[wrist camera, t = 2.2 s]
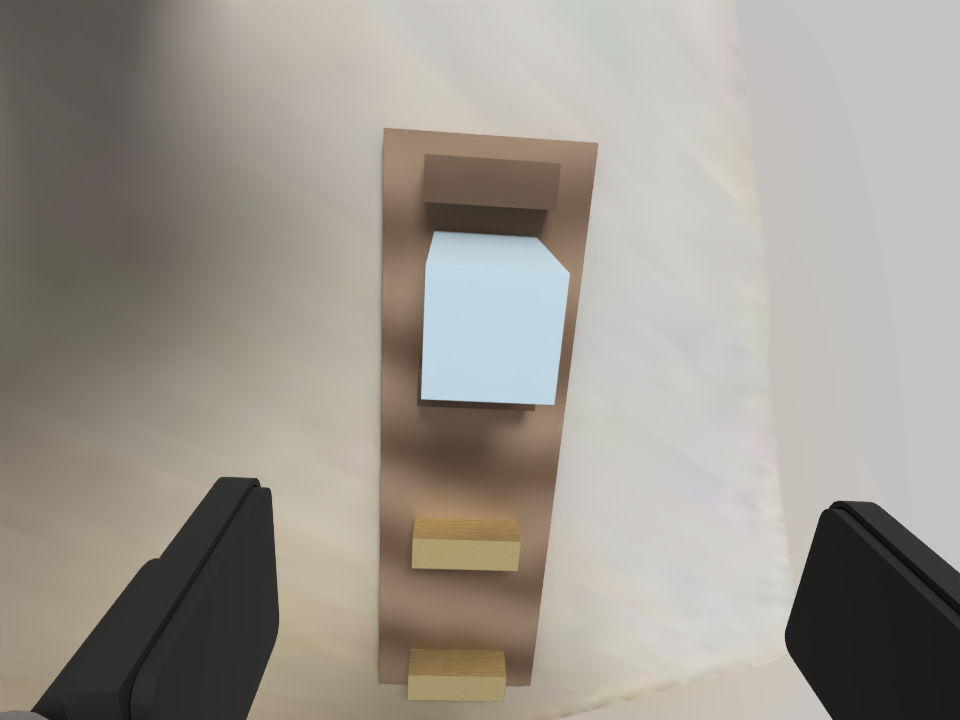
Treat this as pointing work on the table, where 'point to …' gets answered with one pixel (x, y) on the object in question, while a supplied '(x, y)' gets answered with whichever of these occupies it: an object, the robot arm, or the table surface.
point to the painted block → (492, 319)
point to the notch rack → (467, 421)
